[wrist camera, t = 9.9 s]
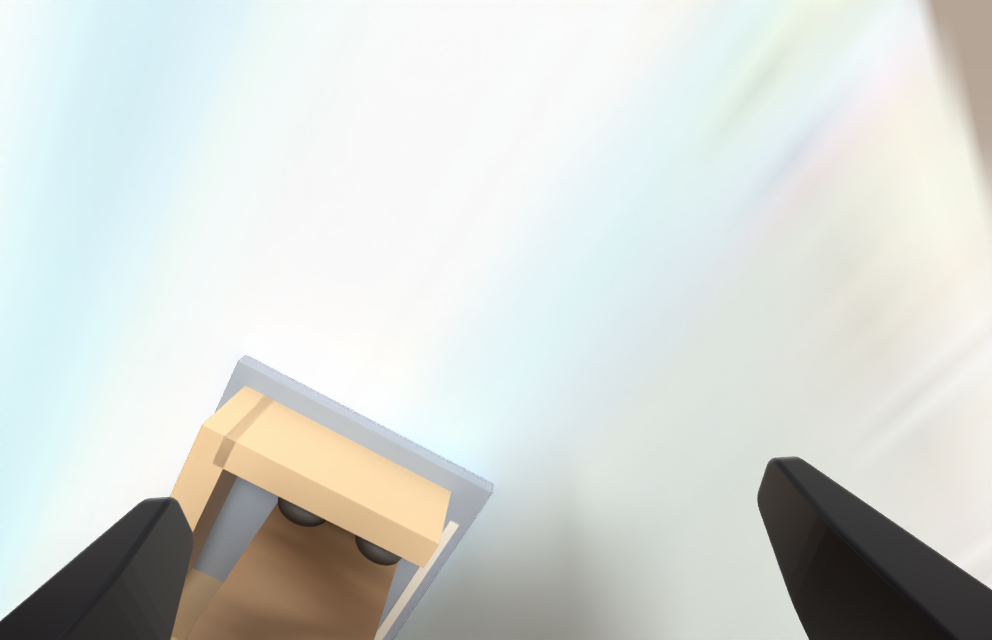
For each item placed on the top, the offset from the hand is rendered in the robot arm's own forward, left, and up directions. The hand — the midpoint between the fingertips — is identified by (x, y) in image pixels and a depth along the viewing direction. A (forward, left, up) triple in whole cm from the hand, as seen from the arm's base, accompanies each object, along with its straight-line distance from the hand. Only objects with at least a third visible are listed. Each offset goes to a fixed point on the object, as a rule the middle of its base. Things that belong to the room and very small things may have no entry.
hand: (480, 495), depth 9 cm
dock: (-12, +7, -12) cm, 18 cm away
